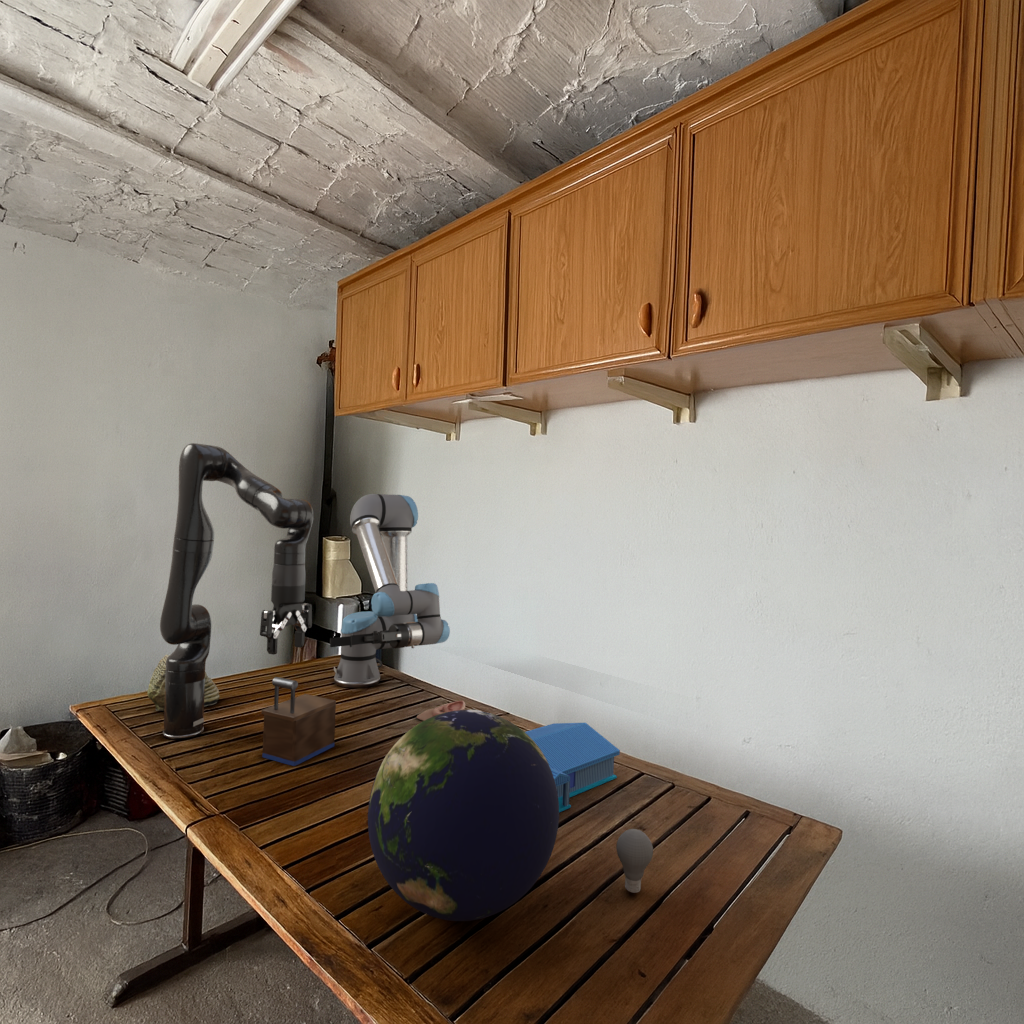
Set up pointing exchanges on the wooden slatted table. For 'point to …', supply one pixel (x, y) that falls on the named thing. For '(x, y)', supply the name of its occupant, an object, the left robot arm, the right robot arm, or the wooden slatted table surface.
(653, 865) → the wooden slatted table surface
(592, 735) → the model building
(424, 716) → the anatomical model
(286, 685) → the lid
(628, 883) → the light bulb
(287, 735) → the chest
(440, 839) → the globe
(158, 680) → the fossil
